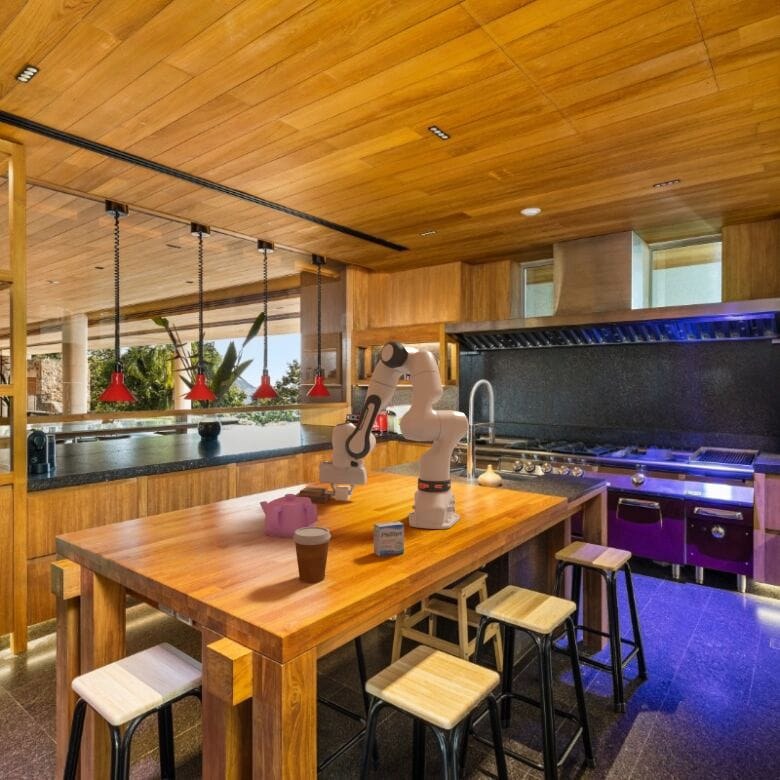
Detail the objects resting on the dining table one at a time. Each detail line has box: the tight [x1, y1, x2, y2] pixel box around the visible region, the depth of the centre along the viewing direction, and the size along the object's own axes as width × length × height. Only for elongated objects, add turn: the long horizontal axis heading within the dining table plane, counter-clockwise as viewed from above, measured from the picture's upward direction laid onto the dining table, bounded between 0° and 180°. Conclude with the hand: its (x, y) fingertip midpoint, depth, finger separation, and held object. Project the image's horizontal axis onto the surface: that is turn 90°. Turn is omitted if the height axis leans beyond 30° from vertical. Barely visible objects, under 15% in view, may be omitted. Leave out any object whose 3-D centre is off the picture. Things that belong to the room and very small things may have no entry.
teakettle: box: [259, 493, 319, 539], centre depth 176 cm, size 17×17×12 cm
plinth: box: [294, 486, 335, 504], centre depth 223 cm, size 14×14×4 cm
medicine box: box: [373, 520, 405, 558], centre depth 154 cm, size 8×4×9 cm, turn 114°
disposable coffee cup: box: [292, 526, 332, 584], centre depth 135 cm, size 10×10×12 cm
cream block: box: [334, 485, 351, 502], centre depth 223 cm, size 5×5×5 cm
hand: (342, 494), depth 223 cm, fingers closed on cream block, 5 cm apart
